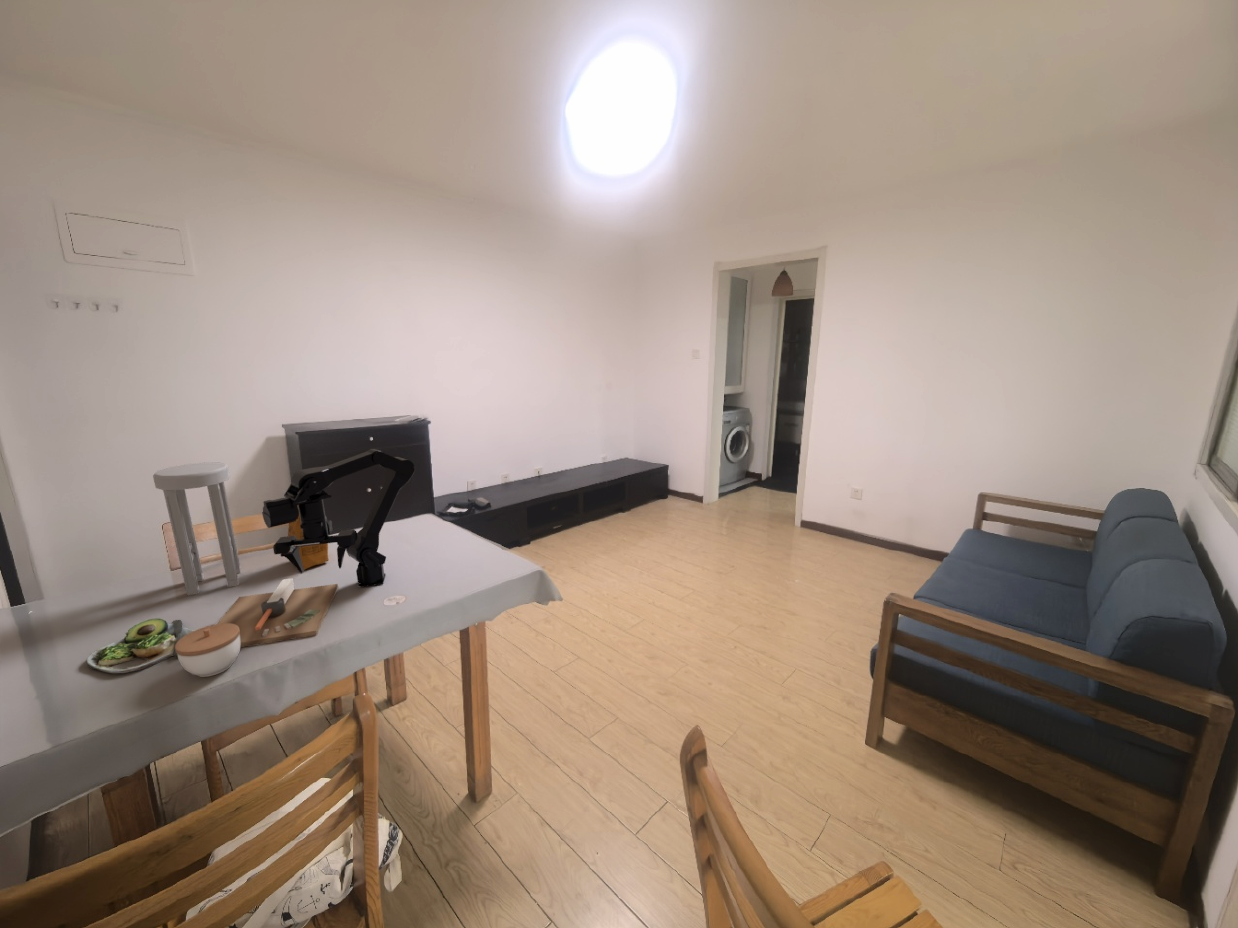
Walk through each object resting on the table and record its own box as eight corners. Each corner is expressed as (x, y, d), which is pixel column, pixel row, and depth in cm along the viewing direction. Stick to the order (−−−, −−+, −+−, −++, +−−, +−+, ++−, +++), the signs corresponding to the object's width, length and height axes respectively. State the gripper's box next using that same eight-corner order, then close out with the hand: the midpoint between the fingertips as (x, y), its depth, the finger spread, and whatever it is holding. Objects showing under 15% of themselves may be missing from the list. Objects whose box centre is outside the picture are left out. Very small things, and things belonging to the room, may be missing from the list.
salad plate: (221, 639, 116) (218, 622, 115) (126, 687, 100) (121, 668, 99) (173, 623, 123) (169, 606, 122) (76, 664, 107) (71, 646, 106)
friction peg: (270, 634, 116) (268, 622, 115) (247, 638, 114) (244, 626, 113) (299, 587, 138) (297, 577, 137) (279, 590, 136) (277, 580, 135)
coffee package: (323, 551, 165) (313, 490, 160) (332, 563, 156) (323, 498, 151) (288, 560, 158) (277, 496, 153) (296, 573, 150) (285, 505, 144)
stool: (249, 566, 154) (229, 459, 146) (246, 586, 142) (223, 470, 133) (186, 578, 146) (160, 466, 137) (176, 600, 133) (147, 478, 125)
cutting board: (338, 587, 141) (337, 582, 141) (316, 634, 118) (315, 629, 118) (239, 600, 133) (238, 595, 133) (196, 654, 110) (195, 648, 110)
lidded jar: (193, 691, 99) (184, 651, 96) (174, 672, 104) (164, 634, 102) (254, 663, 108) (246, 625, 105) (233, 647, 113) (225, 611, 111)
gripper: (357, 503, 139) (363, 553, 143) (281, 510, 134) (291, 562, 137) (349, 516, 129) (357, 570, 133) (267, 524, 123) (278, 580, 127)
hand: (321, 570), depth 133 cm, fingers open, 9 cm apart
